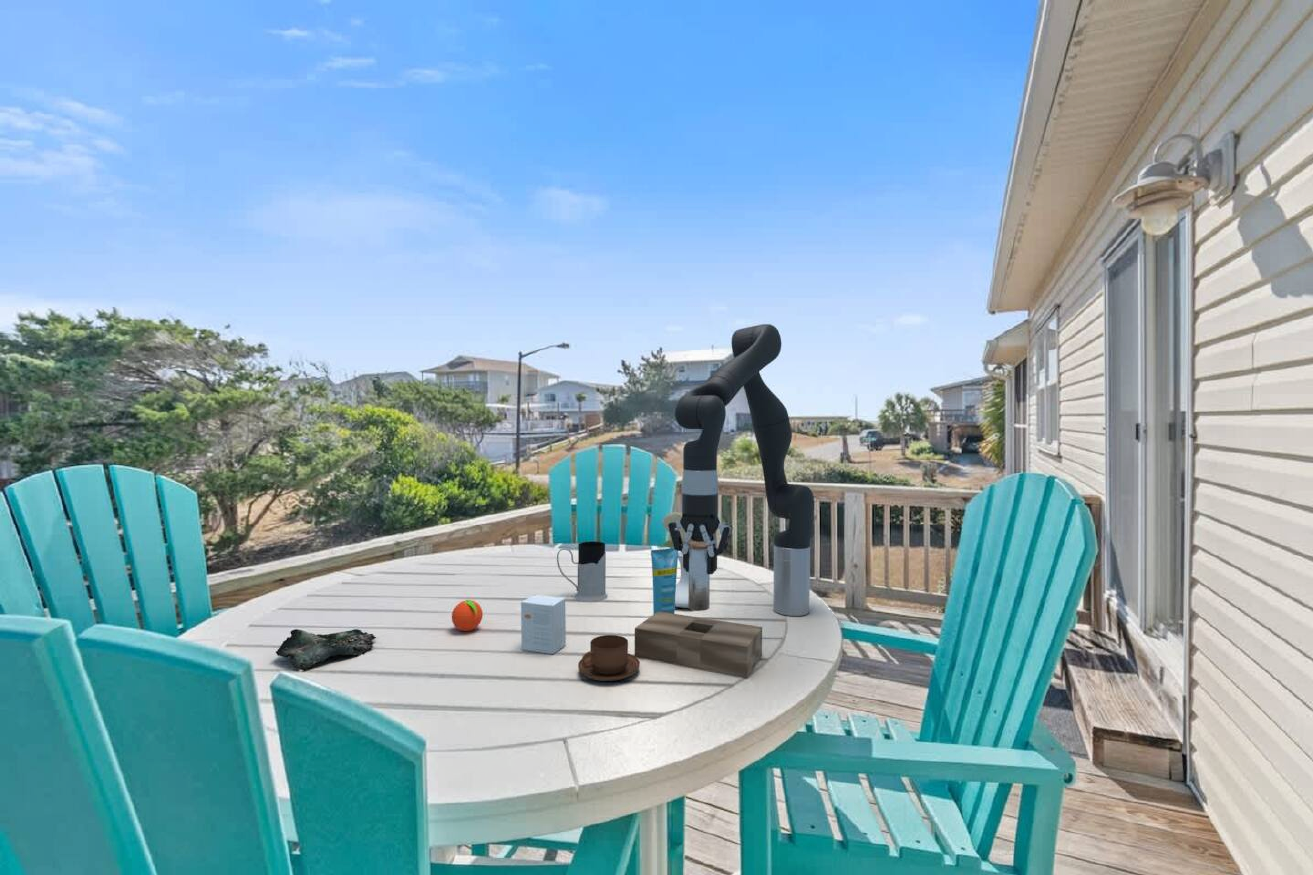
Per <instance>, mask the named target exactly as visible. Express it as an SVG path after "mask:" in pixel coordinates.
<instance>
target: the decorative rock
mask: <svg viewBox="0 0 1313 875" xmlns="http://www.w3.org/2000/svg"><path fill="white" fill-rule="evenodd" d="M289 632H290V633H289V634H291V636H290V637H286V639H285V640H283V642H282V643H281V645H280V646H279V648H278V649H277V651H275V654H276V656H279V657H280V658H282V657H283V658H288V657H289V658H290V660H291V661H292V663H293V664H294V666H295V668H296V670H297V671H298V672H300V671H301V673H302V672H304V673H305V672H307V671H308V670H310V669H311V667H312V666H314V664H315V663H322V662H325V661H326V660H327V659H328V658H330V657H331V656H332V657H336V656H340V655H341V656H345V655H350V656H357V657H360V656H362V655H365V652H366V651H368V650H369V649H371V648H374V645H373V643H372V642H373V640H375V639H377V637H376V636H374V634H373V633H368V632H366V631H365V632H363V631H362V630H361V629H358V628H355V629H351V630H346V631H345V630H344V631H340V632H339V631H338V632H333V633H328V634H319V633H318V634H315V633H312V632H309V631H306V630H303V629H302V630H301V629H297V628H295V629H292V630H291V631H289Z"/></svg>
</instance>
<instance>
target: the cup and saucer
mask: <svg viewBox="0 0 1313 875" xmlns="http://www.w3.org/2000/svg"><path fill="white" fill-rule="evenodd" d="M589 648H590V650H589V651H586V652H585V653H584V654H583V656H582V658H581V659H580V660H579V661H578V664H577V666H578V670H579V672H580V673H581V674H582V675H583V676H585V678H589V679H591V680H595V681H601V682H614V681H615V682H616V681H619V680H625V679H626V678H627V679H628V678H629V677H631V676H633V675H634V674H635V673H636V672H638V670H639V669H640V666H641V665H640V664H641V662H640V659H639V657H635V655H634V654H631V653H629V640H628V639H627V638H626V637H624V636H621V635H616V634H605V635H598V636H595V637H593V638H592V639H591V641H590V646H589Z"/></svg>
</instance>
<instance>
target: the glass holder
mask: <svg viewBox="0 0 1313 875" xmlns="http://www.w3.org/2000/svg"><path fill="white" fill-rule="evenodd" d="M577 545H578V547H577V548H578V549H577V550H578V554H577V555H578V560H577V561H576V562H575V561H574V555H573V552H572V551H571V549H569V548H567V547H563V548H561V549H560V550H558V552H557V554H556V562H557V563H556V564H557V568H558V570H559V572H560V573H561V575H562V576H563V577H564V578H565V579H566V580H567V581H568V582H570V583H571V584H572V585H573V586H574V587H575V590H576V592H577V594H576V596H575V599H576V600H578V601H579V602H585V603H596V602H601V601H604V600H606V599H608V595H607V590H606V584H607V583H606V575H607V574H606V573H607V572H606V568H607V567H606V565H607V564H606V563H607V562H606V560H607V556H606V555H607V552H606V543H605V542H603V541H583V542H580V543H579V542H578V544H577ZM563 550H564V551H567V552H569V553H570V556H571V563H572V564H574V565H577V584H576V583H575V582H573V581H572V580H571V579H570V578H569V577H568V576H567V575H566V574H565V573H564V572H563V570H562V568H561V565H560V562H559V554H560V552H562V551H563Z"/></svg>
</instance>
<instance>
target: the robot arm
mask: <svg viewBox="0 0 1313 875" xmlns="http://www.w3.org/2000/svg"><path fill="white" fill-rule="evenodd" d="M781 351H782V338H781V335H780V332H779V330H778V328H776V326H774V325H773V324H771V323H770V324H769V323H767V324H766V323H763V324H758V325H753V326H749V327H743V328H740V329H736V330H735V331H734V332H733V334H732V336H731V352H732V354H733V358H731V359H730V360H728V361H726V362H725V363H723V364H722V365H720V366H719V367H718V368H717V369H715V370H714V371H713V372H712V374H711V375H710V376H709V377H708V378H707V379H706V380H705V381H704V382H702V384H699V385H698V386H696V387H694V388H693V389H691V390H690V391H688V392H686V393H685V394H683V396H681V397H680V399H679V400H678V402H677V403H676V405H675V409H674V419H675V422H676V423H677V425H678V426H680V427H681V428H683V429H685V430H701V433H700V435H699V438H698V439H695V440H690V441H687V442H686V443H685V444H684V445H683V452H682V454H683V456H682V457H683V462H682V463H683V465H682V466H683V471H682V478H681V513H682V518H681V520H680V521H674V522H671V523H669V524H668V527H669V531H670V533H669V534H670V537H671V541H672V542H673V546H674V549H675V550H679V551H678V552H682V553H683V568H684V569H685V571H686V572H689V546H688V540H691V539H692V540H696V539H699V540H703V541H704V542H706V545H707V546H708V547H707V550H708V553H709V557H708V574H710V576H711V575H713V574H715V572H716V571H717V570H718V556H721V555H723V554H724V553H725V552H726V551H727V549H728V545H729V542H730V538H731V535H732V532H733V525H731V524H728V525H725V524H723V523H721V521H720V519H719V478H718V454H717V453H718V447H719V445H720V444H719V443H720V441H721V440H720V439H721V436H722V432H723V428H724V425H725V423H726V422H725V420H726V417H727V416H726V414H727V413H726V411H727V410H726V406H728V405H729V404H730V403H731V401H732V400H733V399H734V398H735V397H736V395H737V394H738V393H739V392H740V390H741V389H742V388H743V389H744V393H745V397H746V400H747V404H748V408H749V409H748V410H749V413H750V417H751V423H752V428H753V432H754V433H753V434H754V436H755V440H756V443H757V448H758V453H759V456H760V457H759V458H760V462H761V468H762V472H763V473H762V474H763V480H764V481H763V482H764V488H765V496H766V502H767V506H768V509H769V511H770V513H771V514H772V515H773V516H774V517H776V518H780V519H785V520H788V527H787V528H786V529H785V530H782V531H779V532H776V533H775V534H774V536H773V594H772V595H773V597H772V598H773V599H772V601H773V602H772V603H773V604H772V605H773V606H772V608H773V611H774V612H775V613H777V614H780V615H783V616H790V617H801V616H802V617H803V616H806V615H808V614H810V595H811V594H810V593H811V592H810V590H811V588H810V586H811V585H810V584H811V581H810V580H811V578H810V577H811V569H810V568H811V540H812V536H813V531H814V516H815V515H814V514H815V498H814V497H815V496H814V494H813V491H812V489H811V488H810V487H808V486H807V485H804V484H803V485H802V484H793V483H788V480H787V477H786V472H785V460H786V457H787V455H788V452H789V449H790V445H791V443H792V438H793V432H792V427H791V426H792V424H791V421H790V417H789V413H788V410H787V408H786V406H785V405H784V404H783V402H782V401H781V400H780V399H779V398H778V396H777V394H775V393H774V392H773V391H772V390H771V389H770V388H769V386H767V384H766V383H765V381H764V380H763V378H762V375H761V373H760V372H761V371H762V370H763V369H764V368H766V367H767V366H768V365H769V364H771V363H772V362H774V361H775V360H776V359H777V358H778V357H779V355H780V353H781ZM681 526H682V527H683V529H684V530H685V532H686V533H685V537H684V540H683V538H682V534H680V530H681ZM717 531H719V535H720V539H719V540H720V541H719V544H718V546H717V544H716V543H717V542H716V541H717V540H716V538H715V533H716V532H717ZM710 539H711V540H710Z"/></svg>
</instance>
